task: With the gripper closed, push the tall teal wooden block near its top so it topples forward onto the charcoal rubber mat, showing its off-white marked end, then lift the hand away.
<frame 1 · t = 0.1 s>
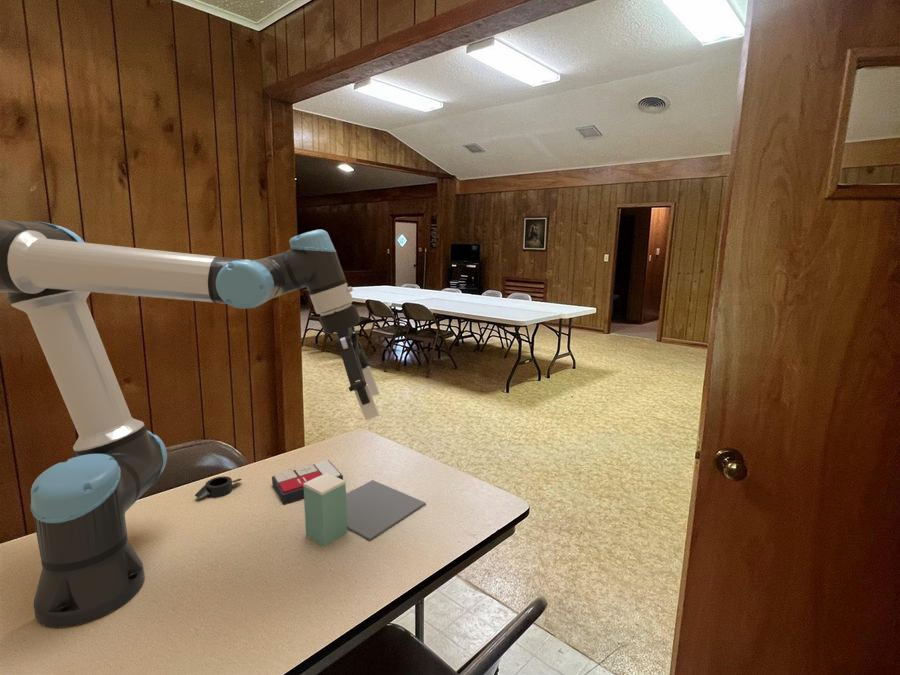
hand: (372, 405, 96), 28 cm above the table, tool tilted 20°, fingers open, 13 cm apart
black ring with arms: (219, 493, 116), on the table
mat: (371, 508, 109), on the table
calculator: (308, 488, 119), on the table
block: (326, 534, 99), on the table
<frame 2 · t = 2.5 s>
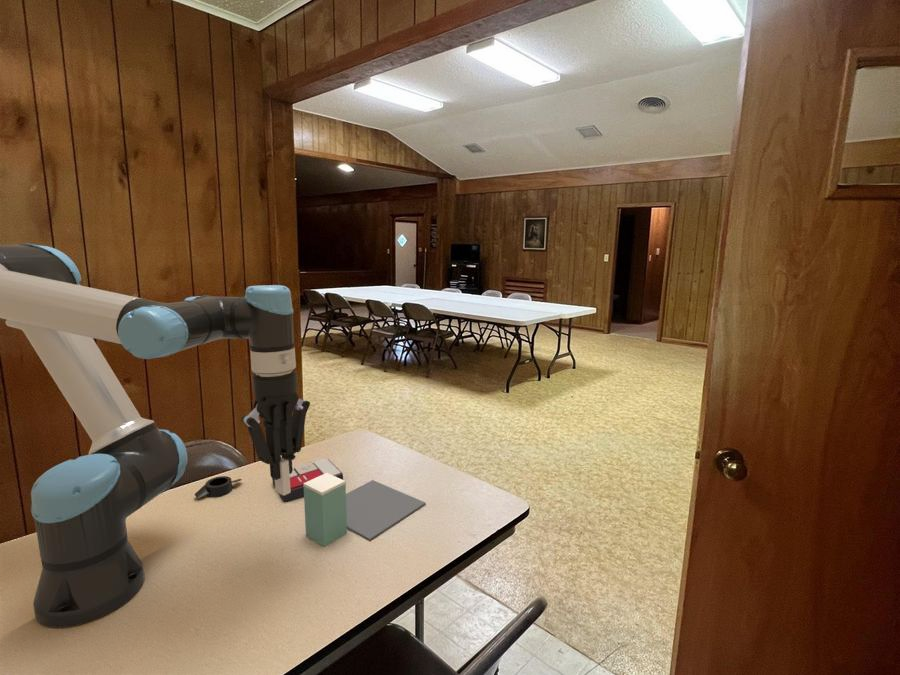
hand: (283, 491, 88), 14 cm above the table, tool pointing down, fingers closed
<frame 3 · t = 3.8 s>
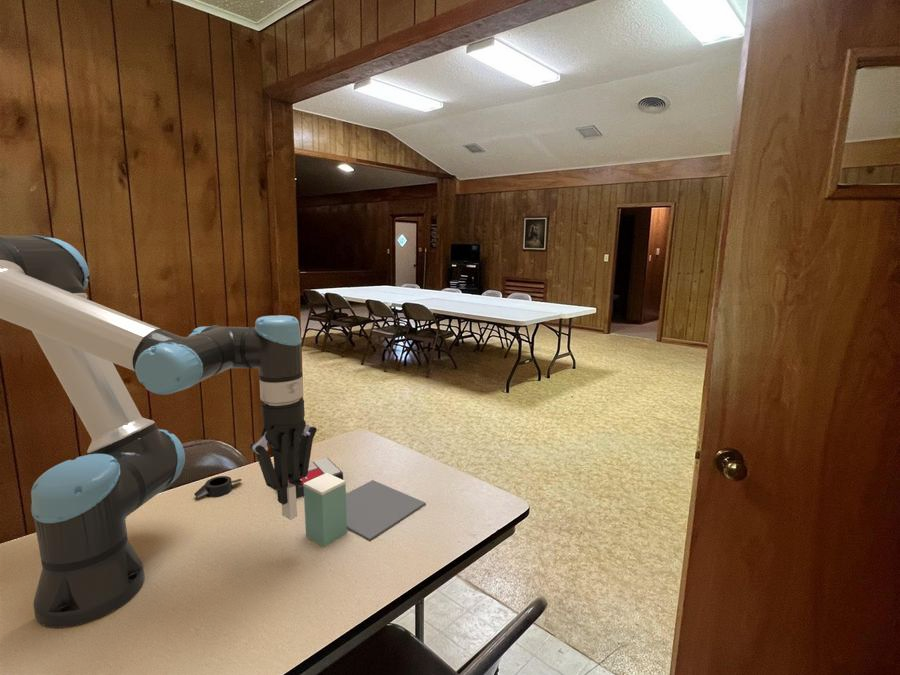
hand: (289, 515, 90), 9 cm above the table, tool pointing down, fingers closed
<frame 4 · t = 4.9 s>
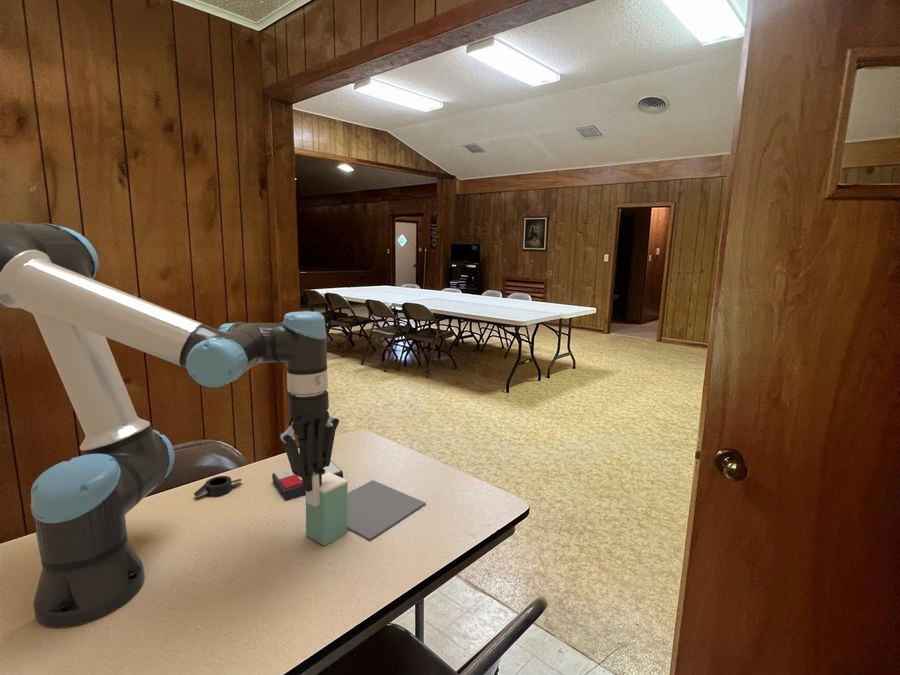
hand: (313, 503, 95), 9 cm above the table, tool pointing down, fingers closed
block: (326, 534, 99), on the table, touching gripper
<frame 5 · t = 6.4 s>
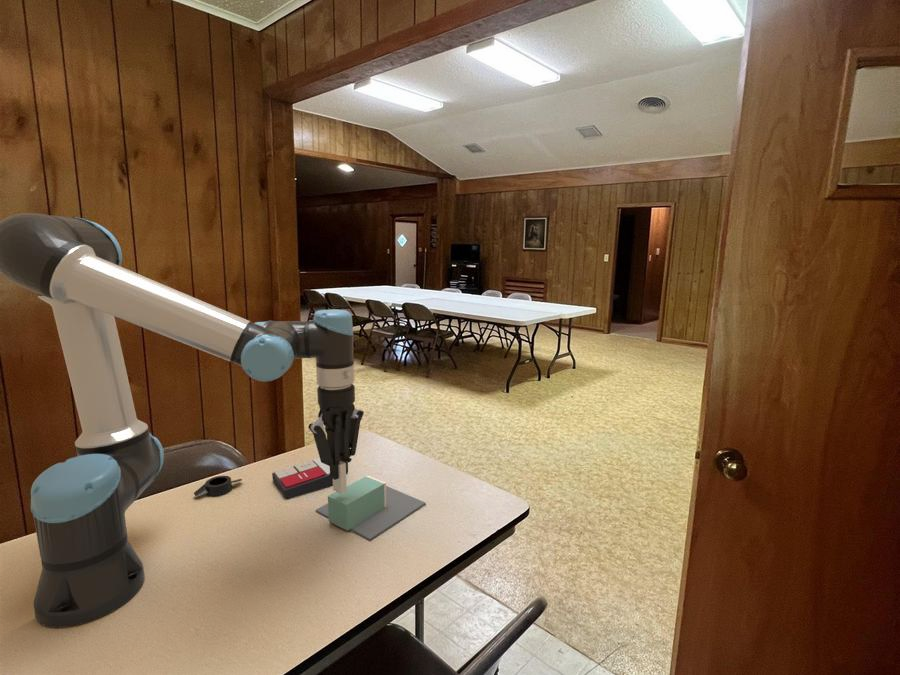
hand: (339, 490, 100), 8 cm above the table, tool pointing down, fingers closed
block: (337, 513, 100), point 3 cm above the table, tilted 90°, touching mat
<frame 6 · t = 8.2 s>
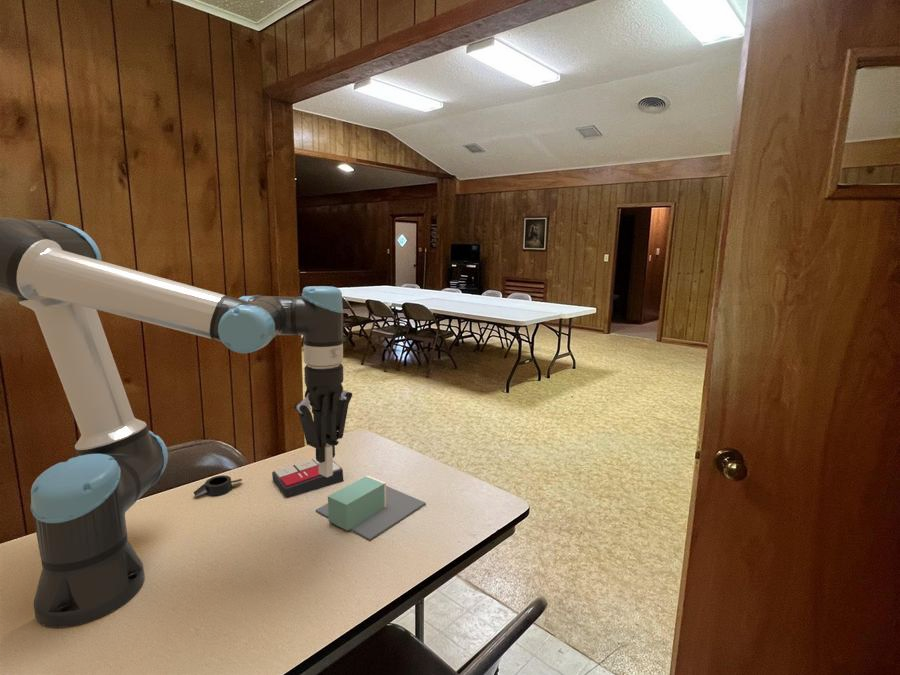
hand: (325, 474, 97), 13 cm above the table, tool pointing down, fingers closed
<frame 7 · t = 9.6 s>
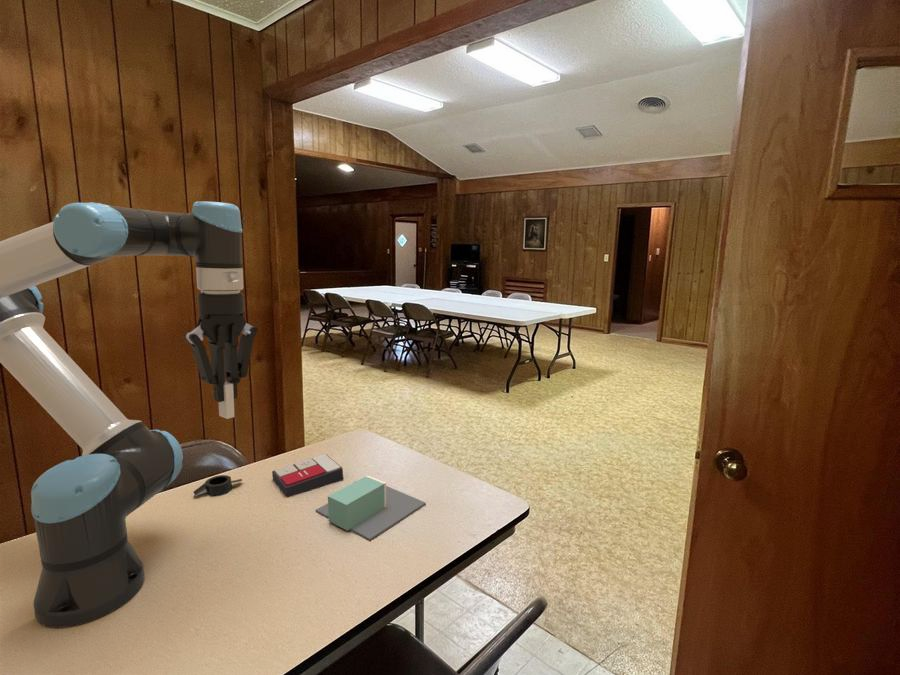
hand: (226, 416, 88), 28 cm above the table, tool pointing down, fingers closed
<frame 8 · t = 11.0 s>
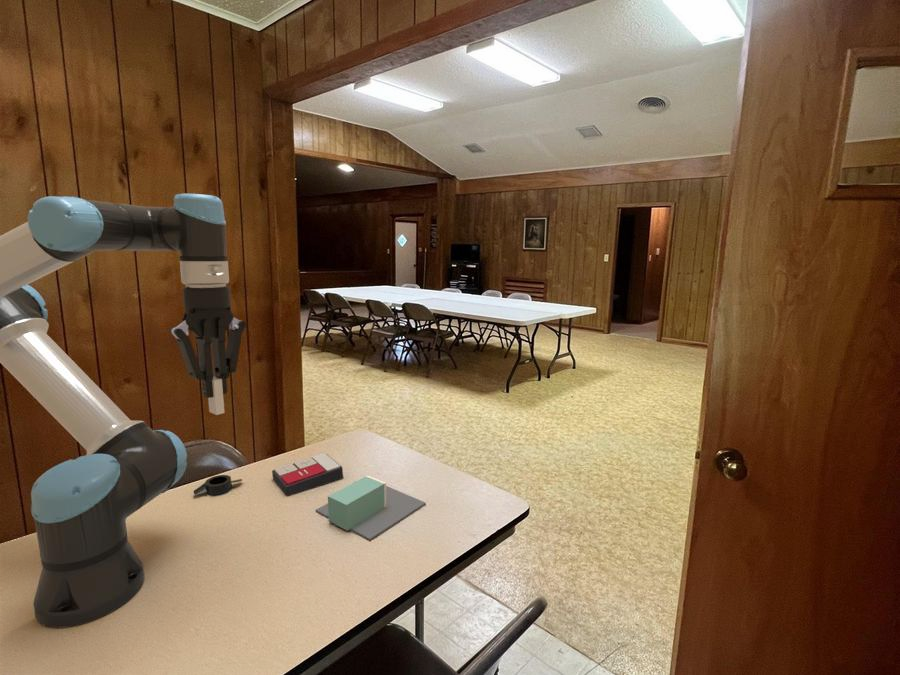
hand: (216, 412, 87), 29 cm above the table, tool pointing down, fingers closed
at the end: block tilted 90°; block touching mat; block inside the target area (2.5 cm from its centre), point 3.5 cm above the table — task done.
